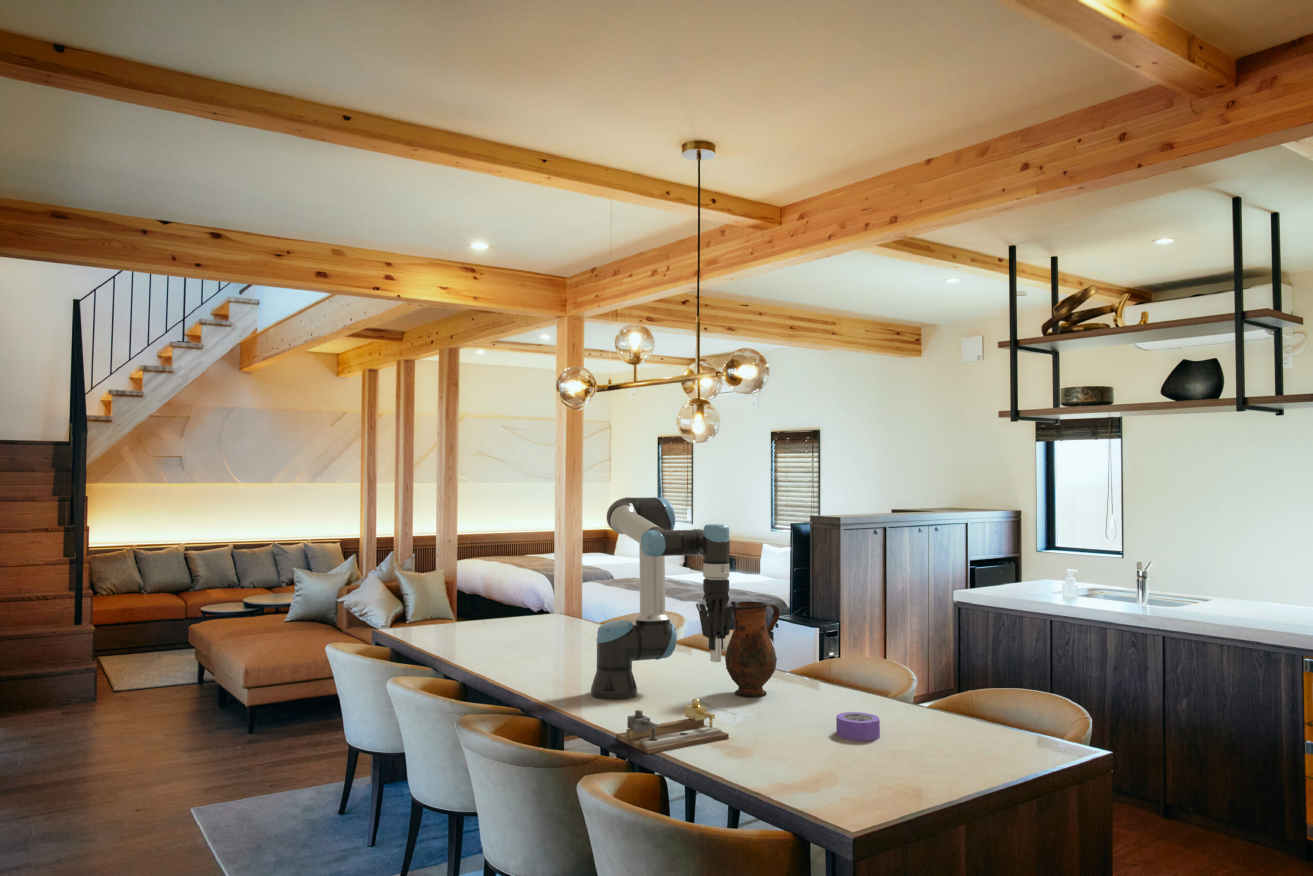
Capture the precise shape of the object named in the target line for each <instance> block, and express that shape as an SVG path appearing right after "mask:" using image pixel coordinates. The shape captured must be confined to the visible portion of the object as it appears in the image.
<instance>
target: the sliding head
mask: <svg viewBox="0 0 1313 876" xmlns="http://www.w3.org/2000/svg"><path fill="white" fill-rule="evenodd" d="M691 701H692V702H691V703H692V704H688V705H684V717H685V718H686V719H689V718H690V719H692V720H695V721H697V720H702V719H704V720H707V718H708V719H709V720H708V721H709V723H708V724H709V725H708V726H709V727H710V728H712V726H713V719H716V714H714V713H711V712H709V711H708V707H706V706H704V705H700V699H699V698H692V699H691Z"/></svg>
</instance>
